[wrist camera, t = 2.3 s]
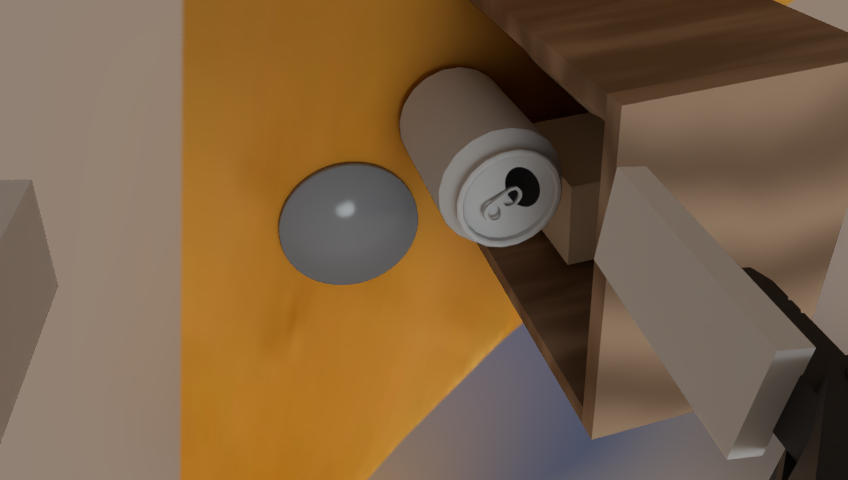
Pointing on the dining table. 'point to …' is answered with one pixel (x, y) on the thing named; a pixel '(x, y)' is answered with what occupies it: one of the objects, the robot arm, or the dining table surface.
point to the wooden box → (683, 168)
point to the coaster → (348, 223)
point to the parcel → (576, 184)
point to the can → (480, 158)
